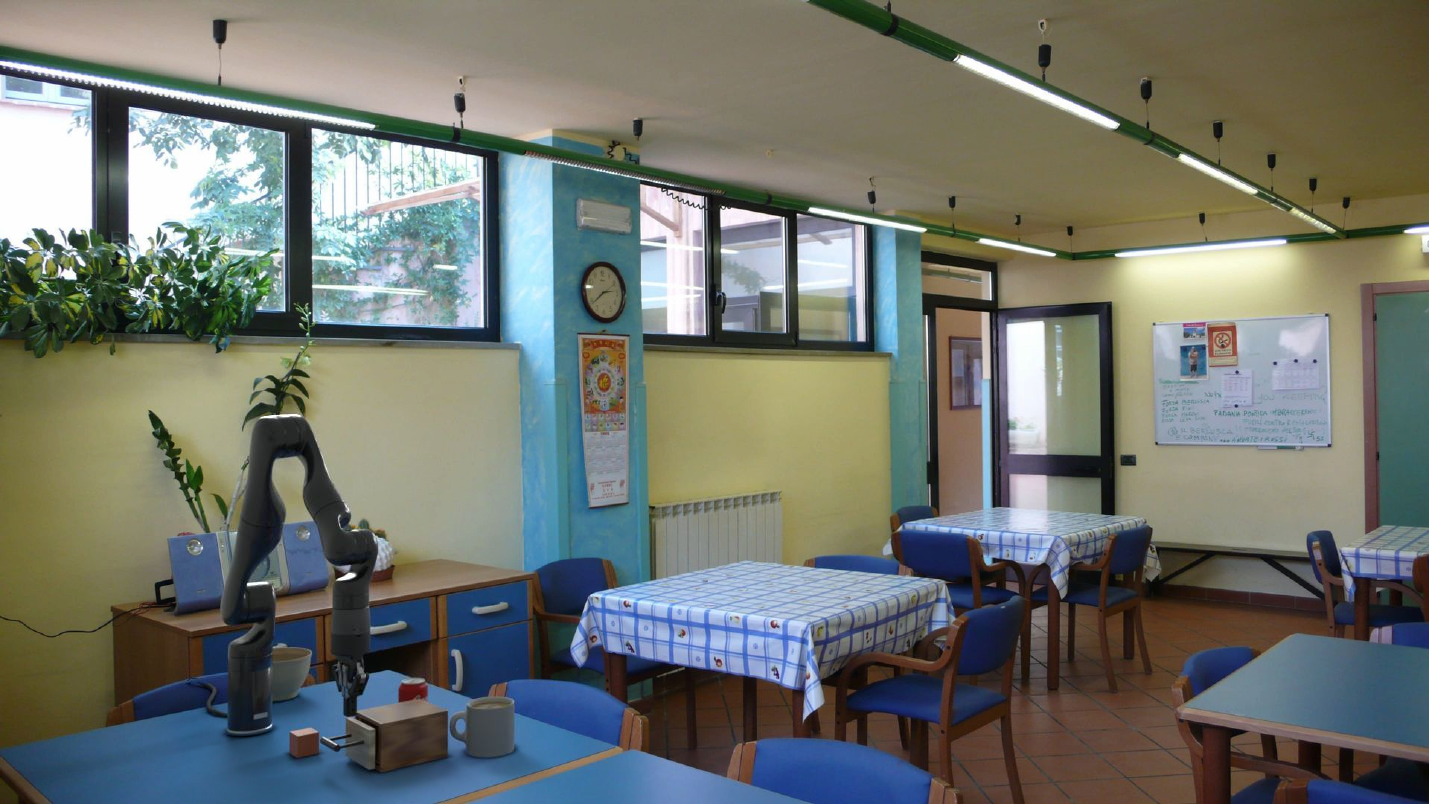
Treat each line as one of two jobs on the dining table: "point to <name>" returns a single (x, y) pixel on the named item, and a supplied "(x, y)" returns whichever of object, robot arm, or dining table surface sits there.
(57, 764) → the dining table surface
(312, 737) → the block
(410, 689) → the beverage can
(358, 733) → the drawer
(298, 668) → the planter bowl
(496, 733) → the coffee mug
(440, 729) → the cabinet
